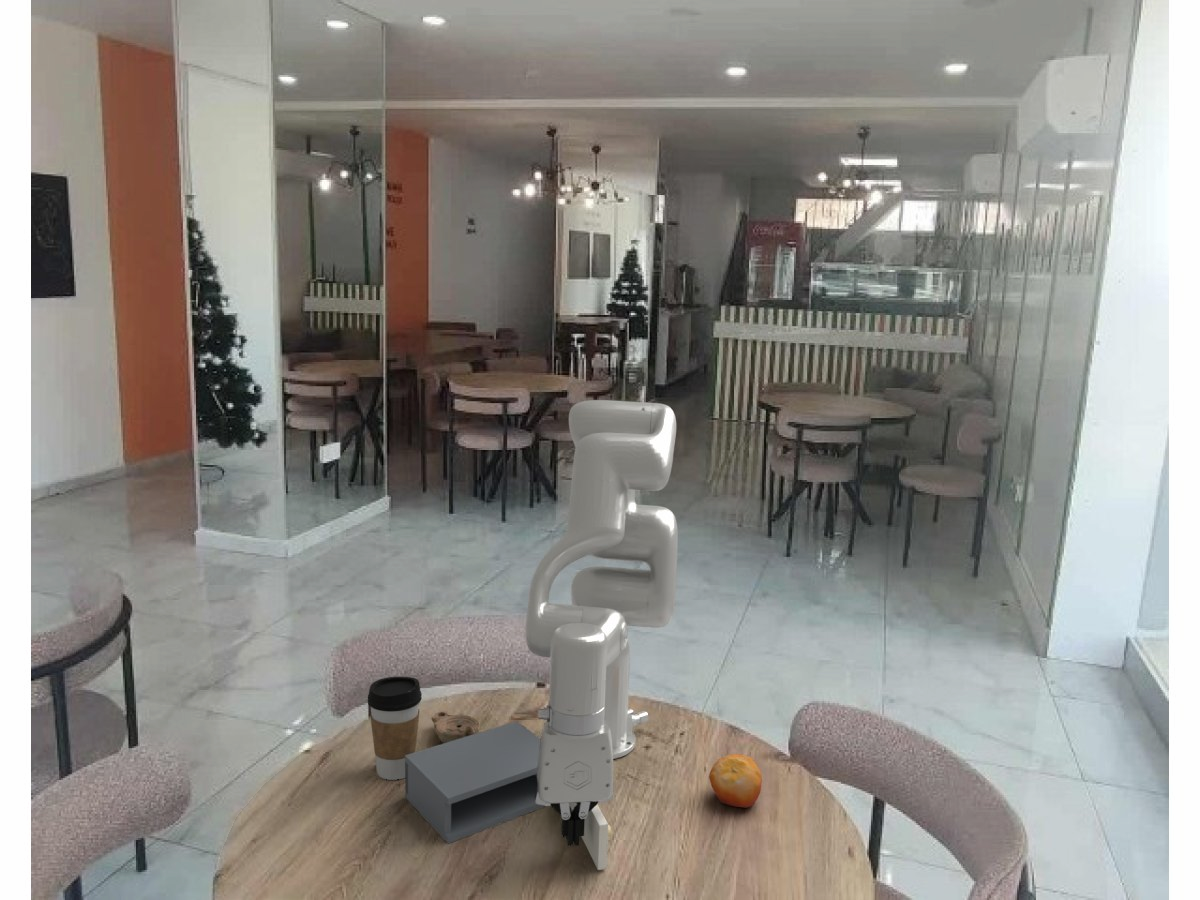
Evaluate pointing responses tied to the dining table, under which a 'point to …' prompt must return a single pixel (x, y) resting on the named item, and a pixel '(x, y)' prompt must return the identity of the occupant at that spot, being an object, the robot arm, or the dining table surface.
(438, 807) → the cabinet
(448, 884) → the dining table surface
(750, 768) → the fruit
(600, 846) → the door
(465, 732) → the oil lamp
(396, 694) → the coffee cup
